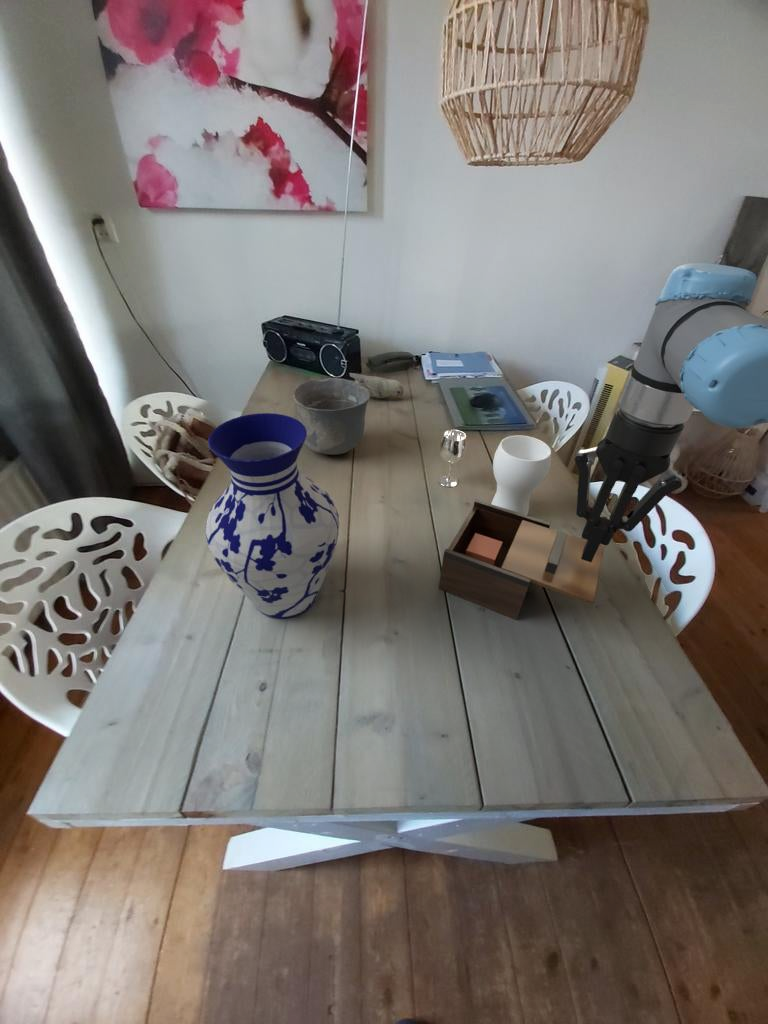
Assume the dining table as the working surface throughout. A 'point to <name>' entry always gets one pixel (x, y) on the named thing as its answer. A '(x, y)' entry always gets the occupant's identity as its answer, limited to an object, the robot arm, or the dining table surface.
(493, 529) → the box
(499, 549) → the block
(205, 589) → the dining table surface
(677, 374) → the robot arm
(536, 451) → the cup
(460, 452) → the wineglass
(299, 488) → the vase
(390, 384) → the decorative bird
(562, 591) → the sliding lid
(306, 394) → the bowl
